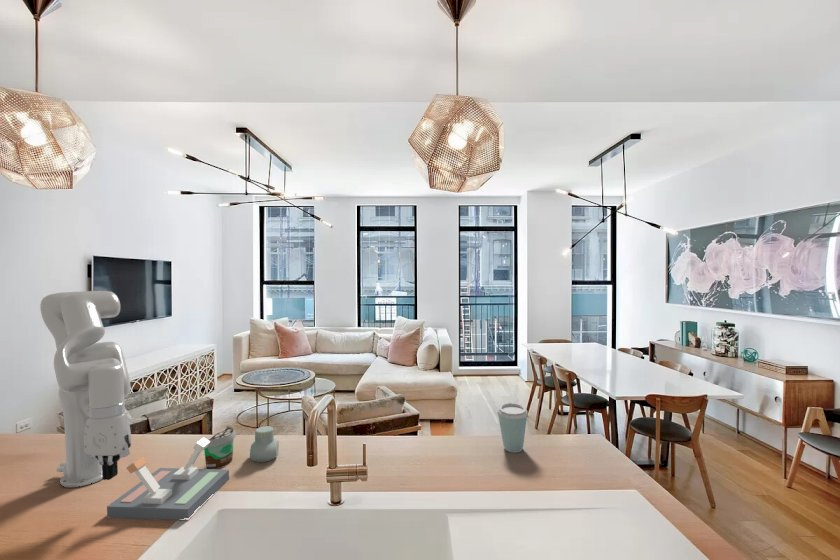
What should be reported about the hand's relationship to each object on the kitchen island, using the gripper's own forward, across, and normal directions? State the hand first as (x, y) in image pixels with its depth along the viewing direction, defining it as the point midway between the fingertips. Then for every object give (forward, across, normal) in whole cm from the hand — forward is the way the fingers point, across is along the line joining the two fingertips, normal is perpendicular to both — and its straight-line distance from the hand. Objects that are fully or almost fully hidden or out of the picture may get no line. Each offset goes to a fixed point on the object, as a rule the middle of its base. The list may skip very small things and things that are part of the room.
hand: (110, 477), depth 111 cm
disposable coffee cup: (+9, +114, +41) cm, 122 cm away
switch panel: (+9, +13, +6) cm, 17 cm away
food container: (+9, +17, +26) cm, 33 cm away
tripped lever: (+4, +13, 0) cm, 14 cm away
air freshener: (+9, +29, +30) cm, 43 cm away
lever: (+4, +13, +12) cm, 18 cm away
